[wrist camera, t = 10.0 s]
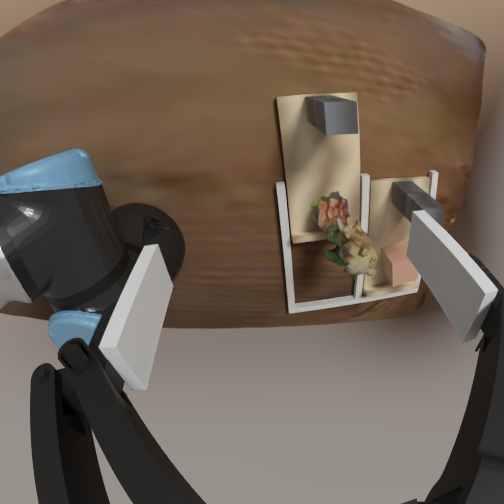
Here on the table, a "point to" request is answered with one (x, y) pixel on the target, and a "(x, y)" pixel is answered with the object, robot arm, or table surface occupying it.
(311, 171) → the strip
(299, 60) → the table surface
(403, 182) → the strip
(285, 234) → the lane board
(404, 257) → the terracotta cube
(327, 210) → the figurine
